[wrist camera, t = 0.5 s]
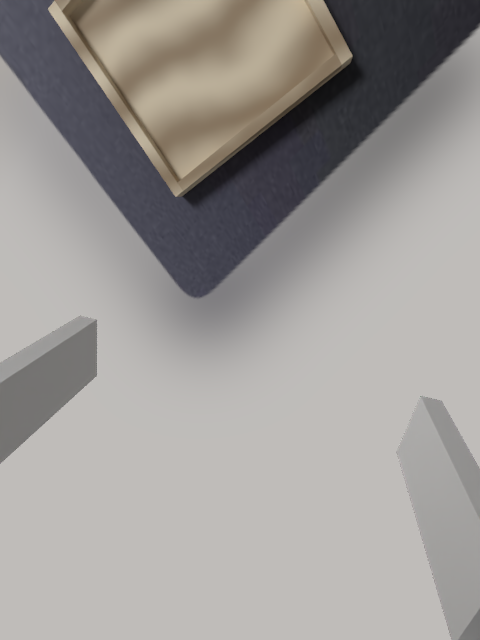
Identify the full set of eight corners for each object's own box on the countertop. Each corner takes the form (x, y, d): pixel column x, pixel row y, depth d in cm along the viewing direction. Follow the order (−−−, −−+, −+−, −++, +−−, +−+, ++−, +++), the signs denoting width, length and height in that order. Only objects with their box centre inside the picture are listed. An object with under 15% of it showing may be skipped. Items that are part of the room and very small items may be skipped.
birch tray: (61, 18, 36) (47, 9, 34) (223, -177, 29) (217, -202, 27) (182, 196, 39) (175, 197, 38) (350, 63, 32) (352, 56, 31)
